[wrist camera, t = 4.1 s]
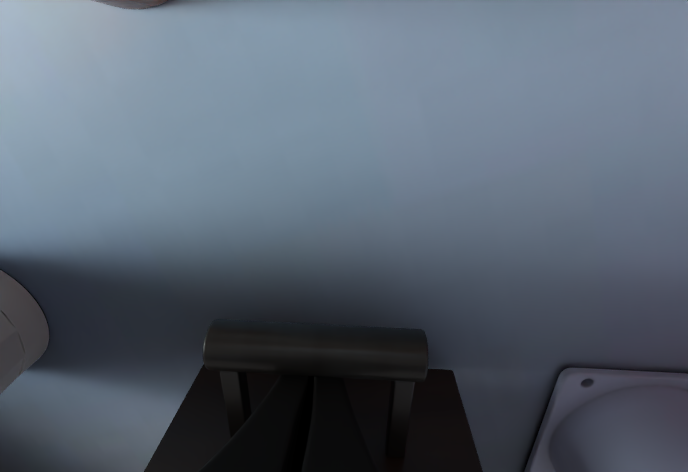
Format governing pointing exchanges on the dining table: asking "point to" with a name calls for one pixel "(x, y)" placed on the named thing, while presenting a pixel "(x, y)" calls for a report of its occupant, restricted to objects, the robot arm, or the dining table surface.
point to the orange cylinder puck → (132, 3)
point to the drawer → (325, 361)
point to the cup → (19, 330)
